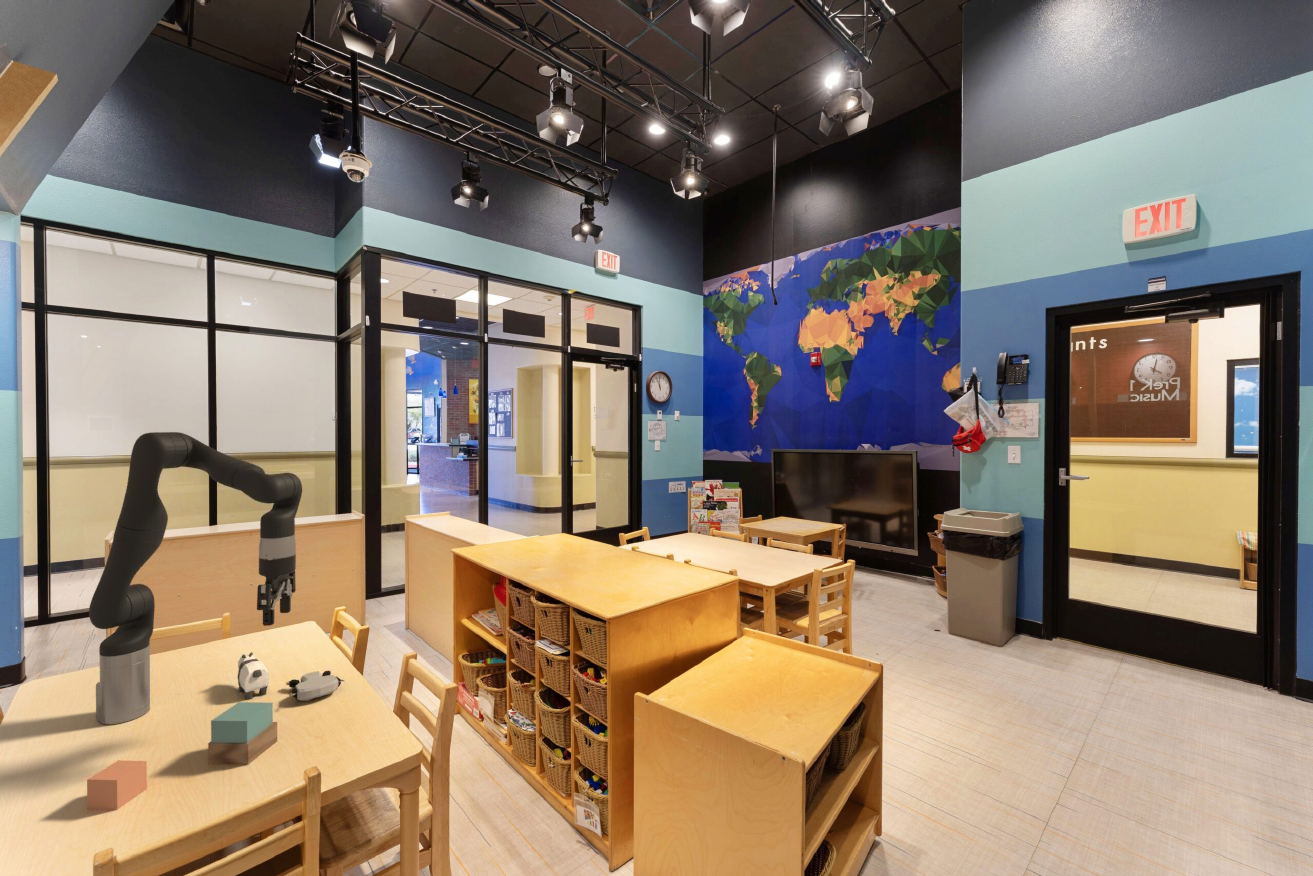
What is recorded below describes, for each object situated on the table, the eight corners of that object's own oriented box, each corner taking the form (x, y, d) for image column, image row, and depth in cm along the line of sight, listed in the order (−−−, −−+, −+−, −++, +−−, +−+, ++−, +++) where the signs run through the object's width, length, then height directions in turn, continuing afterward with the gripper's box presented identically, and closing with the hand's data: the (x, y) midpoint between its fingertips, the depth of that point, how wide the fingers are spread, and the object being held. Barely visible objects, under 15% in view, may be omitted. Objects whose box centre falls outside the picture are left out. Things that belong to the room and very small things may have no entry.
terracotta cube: (87, 809, 106) (87, 779, 105) (118, 789, 112) (118, 760, 111) (117, 810, 105) (117, 780, 105) (146, 789, 111) (146, 761, 111)
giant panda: (270, 695, 150) (270, 661, 150) (245, 702, 146) (245, 667, 146) (255, 678, 160) (255, 646, 160) (232, 685, 156) (231, 652, 155)
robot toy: (283, 693, 153) (293, 710, 143) (283, 677, 154) (293, 692, 143) (332, 679, 162) (345, 694, 151) (332, 664, 162) (345, 678, 151)
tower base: (208, 765, 120) (208, 743, 120) (240, 741, 129) (240, 721, 129) (248, 766, 120) (248, 744, 120) (277, 742, 129) (277, 722, 129)
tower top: (211, 742, 120) (211, 720, 120) (238, 723, 128) (238, 702, 128) (247, 743, 120) (247, 721, 120) (272, 723, 128) (272, 702, 128)
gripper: (274, 547, 140) (274, 609, 140) (244, 561, 126) (244, 630, 126) (306, 547, 141) (306, 608, 142) (280, 560, 127) (280, 628, 128)
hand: (277, 618), depth 134 cm, fingers open, 8 cm apart
